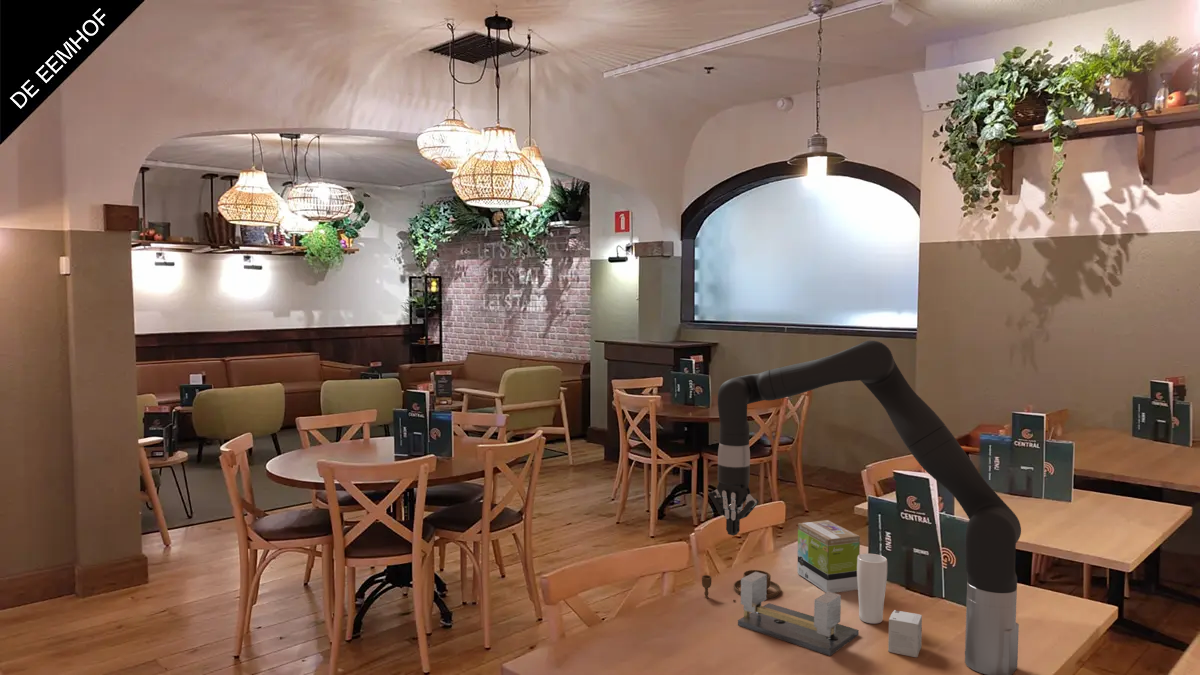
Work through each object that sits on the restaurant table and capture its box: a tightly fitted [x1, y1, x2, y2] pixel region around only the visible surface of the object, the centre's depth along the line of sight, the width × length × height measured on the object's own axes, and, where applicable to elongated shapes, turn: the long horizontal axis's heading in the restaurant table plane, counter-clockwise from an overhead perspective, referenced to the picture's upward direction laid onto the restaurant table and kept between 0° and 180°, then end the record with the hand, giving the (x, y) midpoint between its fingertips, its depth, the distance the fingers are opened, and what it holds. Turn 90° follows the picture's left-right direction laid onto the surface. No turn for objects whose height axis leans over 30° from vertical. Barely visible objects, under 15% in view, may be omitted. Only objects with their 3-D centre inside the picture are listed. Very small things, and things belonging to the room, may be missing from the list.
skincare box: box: [887, 609, 923, 658], centre depth 172 cm, size 6×6×7 cm
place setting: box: [701, 569, 781, 603], centre depth 206 cm, size 18×20×6 cm
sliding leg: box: [740, 572, 768, 614], centre depth 185 cm, size 3×6×10 cm, turn 138°
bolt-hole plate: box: [737, 602, 860, 657], centre depth 182 cm, size 23×14×1 cm, turn 48°
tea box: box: [797, 519, 861, 594], centre depth 212 cm, size 15×10×15 cm, turn 17°
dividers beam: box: [743, 592, 842, 639], centre depth 179 cm, size 22×6×10 cm, turn 48°
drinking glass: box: [857, 553, 888, 625], centre depth 187 cm, size 7×7×15 cm
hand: (732, 534), depth 189 cm, fingers closed
